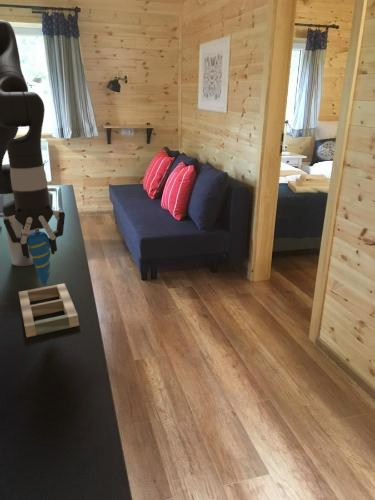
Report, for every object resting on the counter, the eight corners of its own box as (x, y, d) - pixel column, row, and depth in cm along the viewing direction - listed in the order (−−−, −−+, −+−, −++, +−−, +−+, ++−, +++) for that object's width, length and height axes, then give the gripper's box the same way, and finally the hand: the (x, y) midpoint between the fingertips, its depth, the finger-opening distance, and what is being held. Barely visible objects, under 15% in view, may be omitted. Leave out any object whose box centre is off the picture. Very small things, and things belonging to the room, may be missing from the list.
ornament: (33, 290, 102) (23, 231, 96) (34, 281, 106) (25, 224, 101) (55, 287, 103) (47, 229, 98) (55, 279, 108) (48, 222, 102)
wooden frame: (20, 301, 118) (18, 291, 117) (65, 292, 123) (64, 283, 122) (26, 337, 101) (24, 326, 100) (79, 325, 106) (77, 315, 105)
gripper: (59, 179, 102) (68, 245, 108) (-5, 185, 96) (7, 254, 102) (64, 185, 95) (73, 255, 101) (-4, 192, 90) (9, 266, 96)
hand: (40, 254), depth 102 cm, fingers closed on ornament, 5 cm apart
